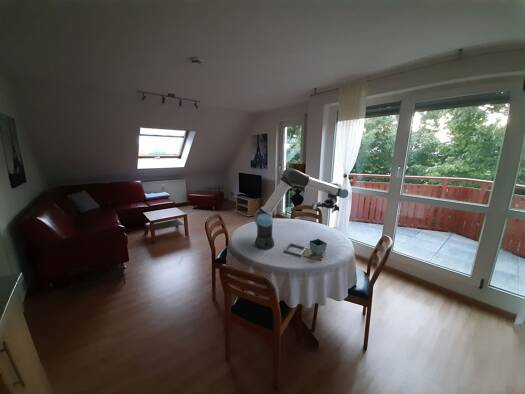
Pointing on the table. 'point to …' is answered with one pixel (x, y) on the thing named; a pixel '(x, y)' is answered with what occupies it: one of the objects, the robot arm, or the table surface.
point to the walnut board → (313, 255)
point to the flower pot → (317, 246)
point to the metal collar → (295, 252)
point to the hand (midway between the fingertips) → (322, 209)
